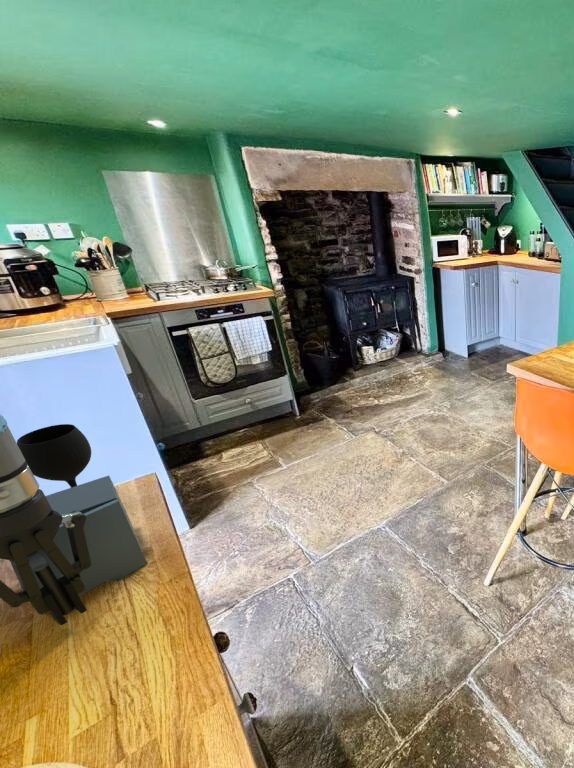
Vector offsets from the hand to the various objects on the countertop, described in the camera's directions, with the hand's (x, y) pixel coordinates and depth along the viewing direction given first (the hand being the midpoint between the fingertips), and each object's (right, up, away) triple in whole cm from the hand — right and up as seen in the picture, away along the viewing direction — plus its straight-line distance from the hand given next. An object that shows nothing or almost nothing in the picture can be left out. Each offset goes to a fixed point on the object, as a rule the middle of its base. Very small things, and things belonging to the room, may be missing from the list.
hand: (70, 614), depth 67 cm
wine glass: (-28, +9, +28) cm, 41 cm away
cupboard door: (-1, -1, +7) cm, 7 cm away
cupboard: (-9, +2, +13) cm, 16 cm away
